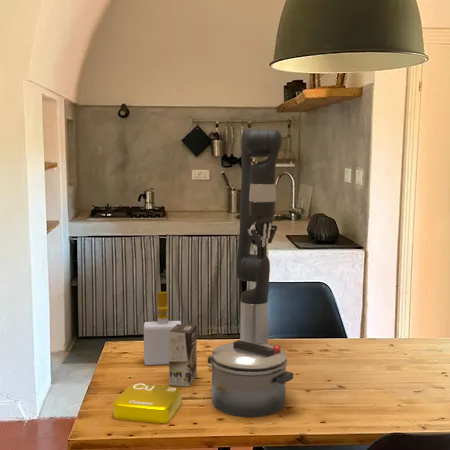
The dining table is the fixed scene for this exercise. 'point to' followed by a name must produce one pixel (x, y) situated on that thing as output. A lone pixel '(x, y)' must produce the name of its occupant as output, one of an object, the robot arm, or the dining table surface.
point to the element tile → (147, 403)
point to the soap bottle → (158, 335)
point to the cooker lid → (249, 355)
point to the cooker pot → (249, 389)
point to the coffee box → (182, 355)
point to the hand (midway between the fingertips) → (261, 259)
